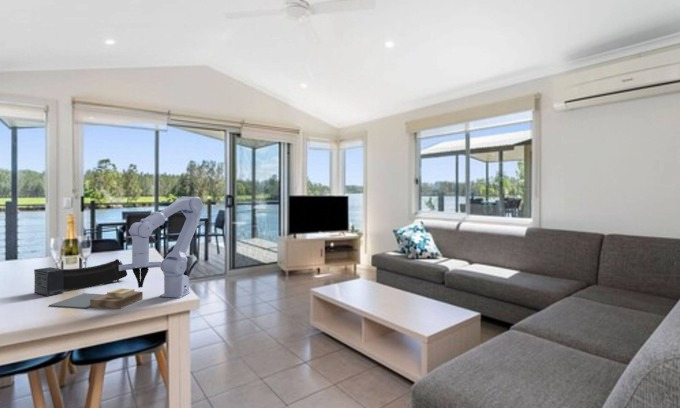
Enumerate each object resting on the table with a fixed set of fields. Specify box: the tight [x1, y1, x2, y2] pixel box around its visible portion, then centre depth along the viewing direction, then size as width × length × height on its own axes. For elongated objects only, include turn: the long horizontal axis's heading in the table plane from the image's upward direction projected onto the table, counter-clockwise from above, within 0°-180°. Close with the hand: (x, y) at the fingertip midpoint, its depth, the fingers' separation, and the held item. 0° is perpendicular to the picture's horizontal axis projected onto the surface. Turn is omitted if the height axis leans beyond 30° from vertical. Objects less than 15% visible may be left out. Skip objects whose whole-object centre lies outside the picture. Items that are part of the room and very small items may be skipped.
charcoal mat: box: [48, 292, 106, 309], centre depth 140 cm, size 16×16×1 cm
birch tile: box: [106, 288, 135, 298], centre depth 138 cm, size 7×6×2 cm
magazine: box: [56, 258, 128, 291], centre depth 161 cm, size 17×3×30 cm
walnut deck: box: [89, 290, 143, 310], centre depth 138 cm, size 12×13×3 cm
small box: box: [33, 267, 64, 297], centre depth 149 cm, size 11×6×10 cm, turn 65°
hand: (140, 286), depth 137 cm, fingers closed
